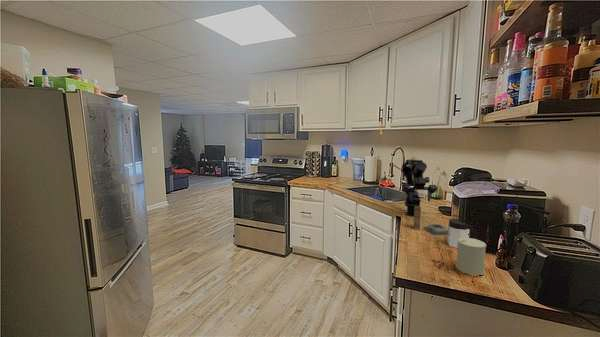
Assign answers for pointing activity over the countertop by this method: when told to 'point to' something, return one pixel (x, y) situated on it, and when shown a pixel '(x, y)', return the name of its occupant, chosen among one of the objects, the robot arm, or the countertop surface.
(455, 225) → the jar
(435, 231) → the square frame on plate
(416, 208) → the walnut stick
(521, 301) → the countertop surface
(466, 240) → the can
